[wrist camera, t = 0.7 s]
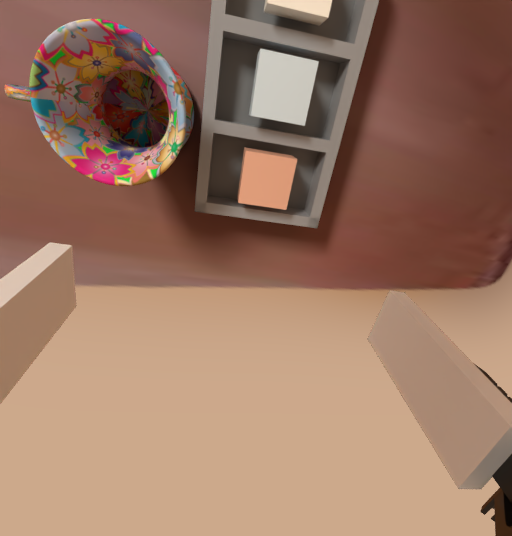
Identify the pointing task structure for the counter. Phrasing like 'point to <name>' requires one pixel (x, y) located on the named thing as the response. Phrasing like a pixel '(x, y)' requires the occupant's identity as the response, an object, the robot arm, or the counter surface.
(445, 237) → the counter surface
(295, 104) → the key middle
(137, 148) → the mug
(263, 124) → the grey compartment tray
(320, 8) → the key
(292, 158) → the key
